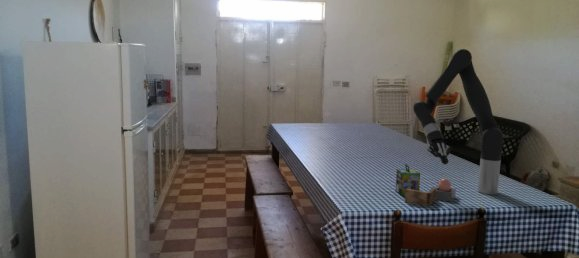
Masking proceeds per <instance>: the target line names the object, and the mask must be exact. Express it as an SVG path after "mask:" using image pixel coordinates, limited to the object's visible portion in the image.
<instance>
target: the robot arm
mask: <svg viewBox="0 0 579 258" xmlns="http://www.w3.org/2000/svg"><path fill="white" fill-rule="evenodd" d="M457 76H459V77H460V79H461V83H462V88H463V90H464V95H465V97H466V100H467V103H468V105H469V106H470V108H471V111H472V112H473V114H474V115H475V118H476V120H477V122H478V124H479V127H480V131H481V136H482V138H481V139H482V140H481V150H480V160H479V173H478V183H477V192H479V193H481V194H485V195H498V193H499V188H500V187H499V186H500V185H499V184H500V170H501V161H502V155H503V154H502V153H503V142H504V135H503V132H502V130H501V129H500V127H499V125H498V123H497V121H496V120H495V118H494V114H493V111H492V107H491V103H490V102H491V101H490V99H489V97H488V93H487V92H486V89H485V88H484V85H483V84H482V81H481V80H480V78H479V76H477V73H476V71H475V68H474V64H473V56H472V53H471V52H470V51H469V50H468V49H465V48H461V49H458V50H456V51H455V52H454V53H453V54H452V57H451V59H450V60H449V63H448V65H447V66H446V68H445V69H444V71H443V72H442V73H441V74H440V75H439V77H438V78H437V79H436V80H435V81H434V82H433V84H432V85H431V86H430V88H428V90H427V91H426V93H425V97H426V100H425V101H423V100H417V101H415V102H414V104H413V107H412V108H413V112H414V114H415V116H416V118H417V119H418V120H419V122H420V124H421V126H422V129H423V131H424V132H423V133H424V135H425V137H426V141H427V142H428V144H429V147H428V148H427V149H426V150H427V152H429V153H430V154H432V155H433V156H434V157H435V158H439V159H440V161H441V163H442V165H448V163H449V159H448V156H449V155H450V154H451V150H452V148H453V147H452V146H451V145H447V143H446V142H445V138H444V135H443V132H442V130H441V129H440V126H439V125H438V123H437V121H436V119H435V117H434V116H433V115H432V114H433V112H434V111H435V109H436V106H437V103H438V101H439V99H440V98H442V97H443V95H444V93H446V91H447V89H449V86H450V85H451V83H452V82H453V80H455V78H456V77H457Z"/></svg>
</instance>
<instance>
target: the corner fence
mask: <svg viewBox="0 0 579 258" xmlns="http://www.w3.org/2000/svg"><path fill="white" fill-rule="evenodd" d="M435 195H436V188H435V187H432V188H430V190H428V191H422V190H419V191H417V190H411V189H406V191H405V196H404V203H409V204H412V205H413V204H414V205H421V206H425V207H430V206H431V205H432V204H433V203H434V202H435V201H436V199H435Z"/></svg>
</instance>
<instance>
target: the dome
mask: <svg viewBox="0 0 579 258" xmlns="http://www.w3.org/2000/svg"><path fill="white" fill-rule="evenodd" d="M451 185H452V183H451V182H450V180H449V179H448V178H441V179H440V180H438V184H437V186H438V190H439V191H446V192H450V188H452V187H451Z"/></svg>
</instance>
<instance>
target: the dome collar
mask: <svg viewBox="0 0 579 258" xmlns="http://www.w3.org/2000/svg"><path fill="white" fill-rule="evenodd" d="M434 188H436V195H435V200H439V201H445V200H446V201H447V202H451V201H452V202H453V201H454V199H455V198H456V192H457V191H456V188H453V187H451V188H450V192H446V191H439V190H438V185H436V186H435V187H434ZM454 197H455V198H454Z"/></svg>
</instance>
